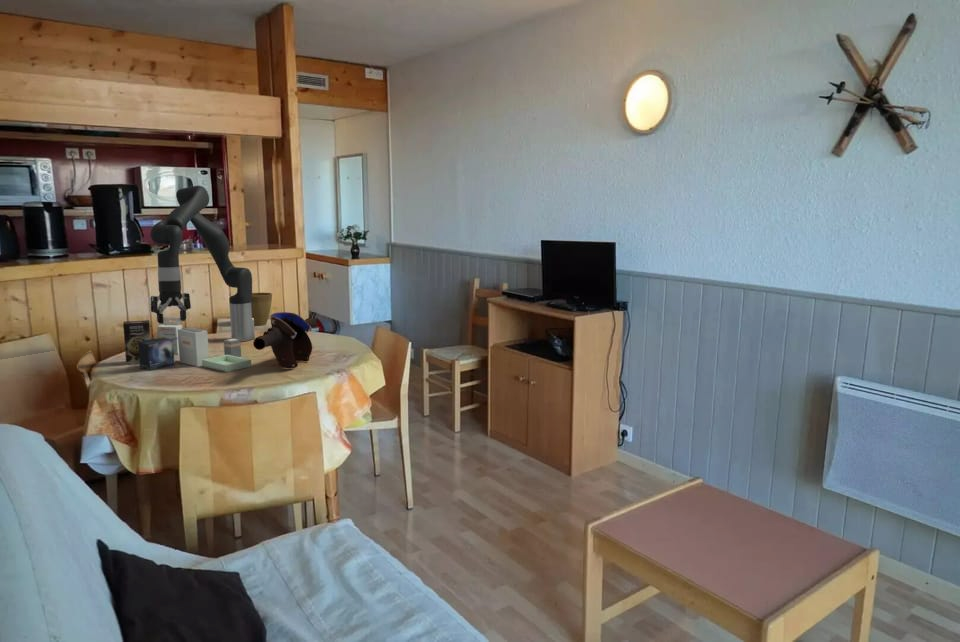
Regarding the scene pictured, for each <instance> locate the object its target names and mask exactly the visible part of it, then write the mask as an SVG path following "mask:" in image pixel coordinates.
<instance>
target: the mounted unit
mask: <svg viewBox="0 0 960 642" xmlns="http://www.w3.org/2000/svg"><path fill="white" fill-rule="evenodd" d="M177 330H178V343H179V354H178V355H179V362H180V363H183V364H187V365H191V366H194V367H195V366H196V367H202V360H203V359H208V358H210V351H209V337H208V330H203V329H199V328H194V327H182V328H181V329H177Z"/></svg>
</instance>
